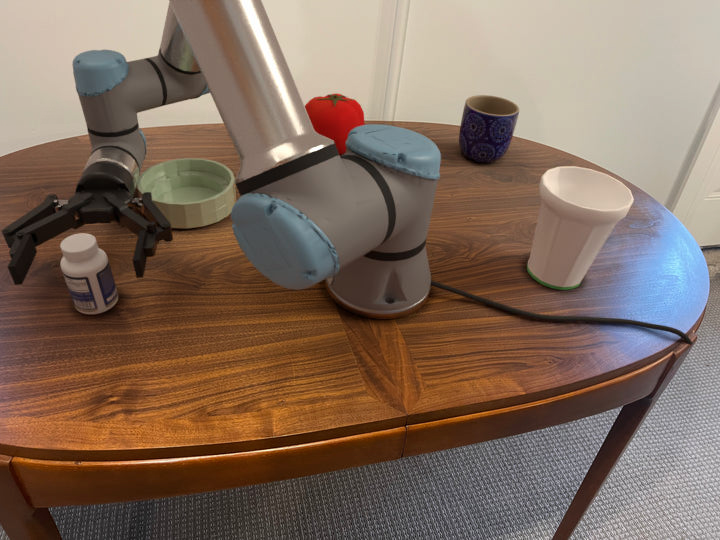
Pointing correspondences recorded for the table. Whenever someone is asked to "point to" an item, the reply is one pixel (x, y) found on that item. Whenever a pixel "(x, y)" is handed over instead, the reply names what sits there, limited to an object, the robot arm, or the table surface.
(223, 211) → the bowl
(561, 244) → the cup
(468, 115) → the planter
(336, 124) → the tomato
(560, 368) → the table surface
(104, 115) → the robot arm
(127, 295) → the table surface
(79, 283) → the pill bottle
